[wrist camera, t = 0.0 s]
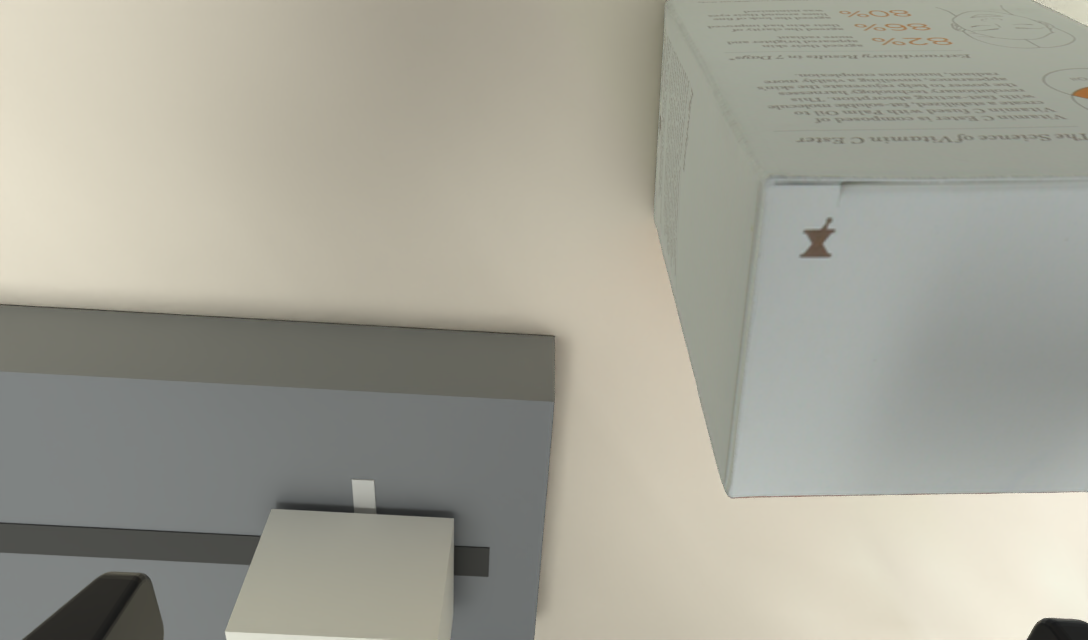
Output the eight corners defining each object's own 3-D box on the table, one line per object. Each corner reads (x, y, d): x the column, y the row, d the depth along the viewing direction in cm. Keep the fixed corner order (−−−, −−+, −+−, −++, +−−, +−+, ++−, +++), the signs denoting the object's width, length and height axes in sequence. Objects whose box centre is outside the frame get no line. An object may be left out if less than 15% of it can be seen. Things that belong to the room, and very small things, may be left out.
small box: (649, 215, 23) (710, 507, 14) (661, -10, 20) (750, 179, 11) (960, 212, 22) (1225, 505, 14) (1020, -15, 19) (1410, 171, 11)
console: (531, 614, 31) (529, 691, 29) (-267, 575, 30) (-343, 650, 28) (554, 336, 25) (554, 403, 22) (-460, 279, 24) (-581, 340, 21)
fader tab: (453, 613, 26) (438, 739, 23) (286, 605, 26) (246, 730, 23) (453, 518, 24) (437, 641, 21) (271, 508, 24) (224, 631, 20)
